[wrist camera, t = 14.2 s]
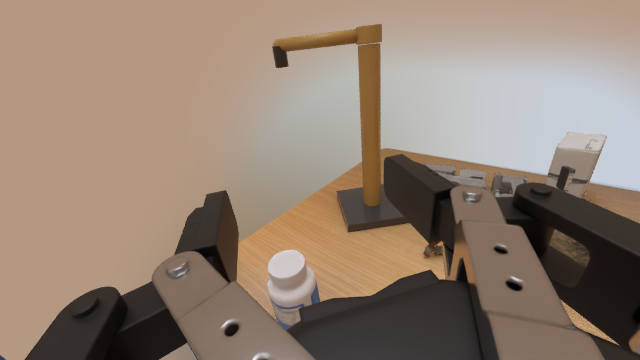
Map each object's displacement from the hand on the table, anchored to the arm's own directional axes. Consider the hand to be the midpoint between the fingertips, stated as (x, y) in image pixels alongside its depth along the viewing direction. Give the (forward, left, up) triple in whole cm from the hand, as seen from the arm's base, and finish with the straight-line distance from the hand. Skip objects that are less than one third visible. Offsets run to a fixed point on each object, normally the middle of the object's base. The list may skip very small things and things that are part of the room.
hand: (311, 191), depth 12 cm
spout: (+5, +33, +3) cm, 34 cm away
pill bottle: (-4, +11, -24) cm, 27 cm away
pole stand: (+11, +32, -24) cm, 41 cm away
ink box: (+43, +25, -24) cm, 56 cm away
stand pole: (+12, +32, -22) cm, 41 cm away
